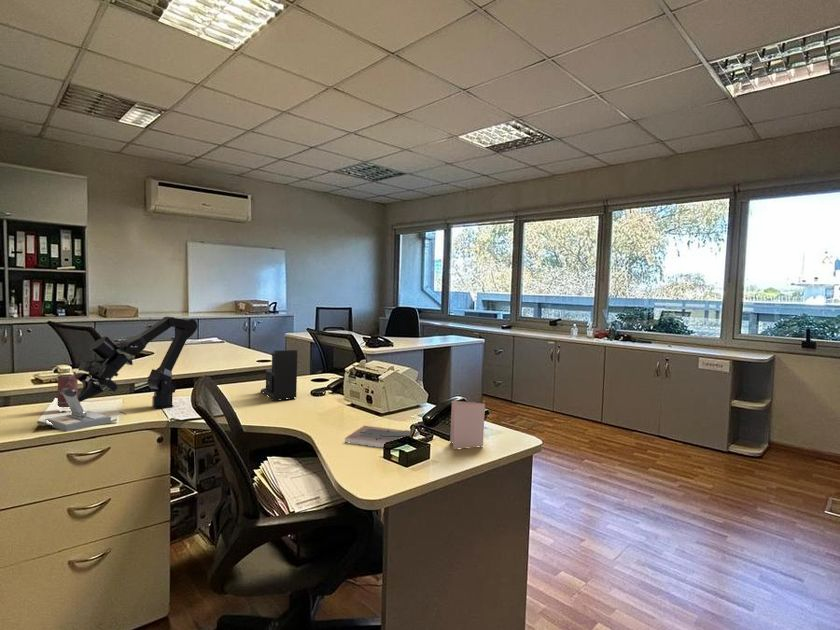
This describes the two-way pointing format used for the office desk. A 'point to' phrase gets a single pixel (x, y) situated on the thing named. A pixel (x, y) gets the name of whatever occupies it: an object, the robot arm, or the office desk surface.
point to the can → (66, 382)
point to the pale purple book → (376, 436)
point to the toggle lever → (73, 402)
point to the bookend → (282, 375)
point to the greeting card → (467, 424)
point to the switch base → (79, 421)
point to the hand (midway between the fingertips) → (78, 401)
